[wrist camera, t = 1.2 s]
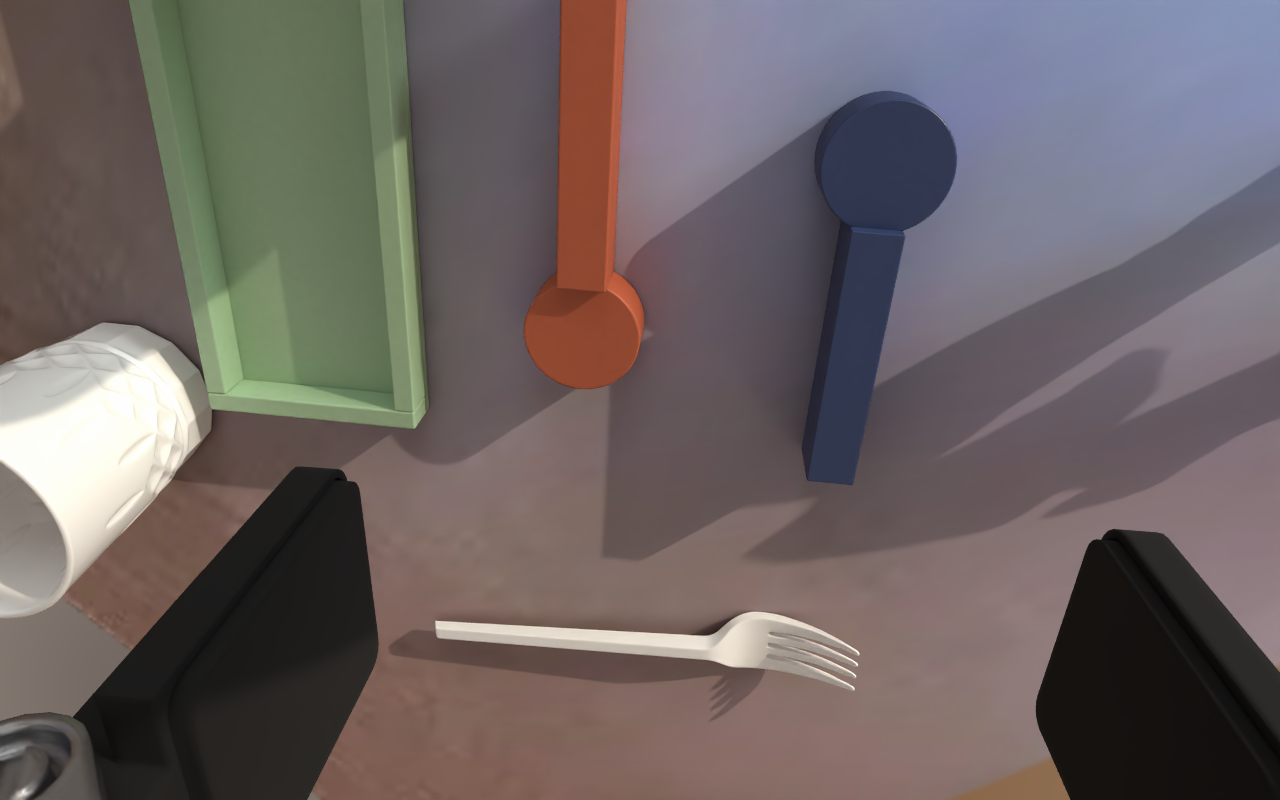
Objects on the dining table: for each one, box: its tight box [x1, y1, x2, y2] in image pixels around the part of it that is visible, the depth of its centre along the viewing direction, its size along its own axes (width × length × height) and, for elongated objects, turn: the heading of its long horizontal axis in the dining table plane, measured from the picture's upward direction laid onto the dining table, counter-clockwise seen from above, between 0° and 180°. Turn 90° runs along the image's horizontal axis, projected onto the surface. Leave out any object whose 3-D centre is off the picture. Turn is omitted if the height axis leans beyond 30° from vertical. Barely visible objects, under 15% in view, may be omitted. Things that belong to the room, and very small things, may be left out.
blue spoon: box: [802, 91, 957, 485], centre depth 31 cm, size 14×4×2 cm, turn 177°
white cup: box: [0, 323, 212, 618], centre depth 32 cm, size 8×8×10 cm
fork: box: [435, 612, 859, 691], centre depth 40 cm, size 3×20×2 cm, turn 91°
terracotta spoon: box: [524, 0, 644, 389], centre depth 30 cm, size 14×4×2 cm, turn 177°
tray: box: [129, 0, 429, 429], centre depth 30 cm, size 22×9×2 cm, turn 177°
